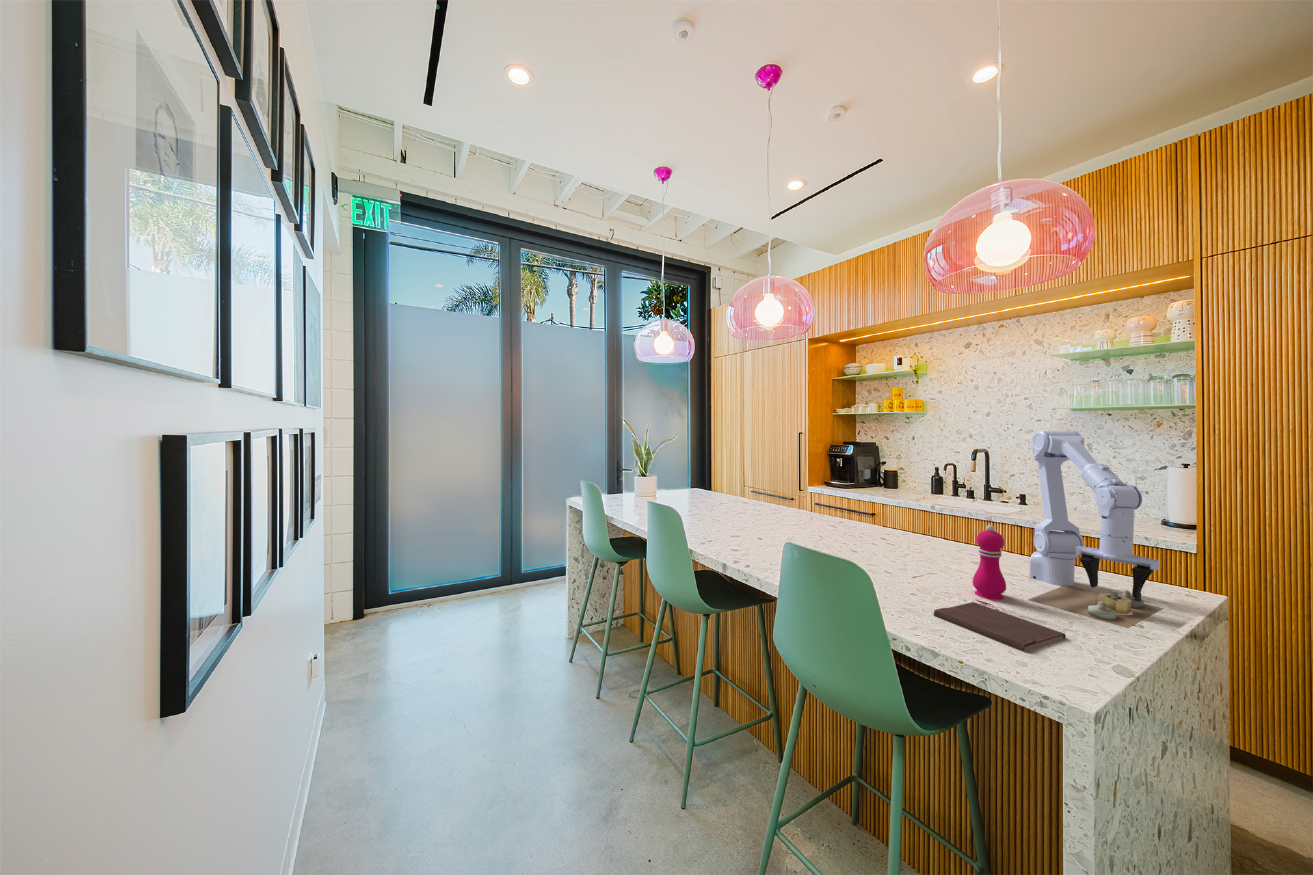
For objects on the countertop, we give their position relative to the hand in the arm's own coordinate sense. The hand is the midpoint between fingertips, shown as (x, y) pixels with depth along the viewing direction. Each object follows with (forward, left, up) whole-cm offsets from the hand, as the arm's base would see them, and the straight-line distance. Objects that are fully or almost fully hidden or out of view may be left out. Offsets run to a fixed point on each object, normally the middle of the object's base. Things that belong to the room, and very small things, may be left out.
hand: (1114, 591), depth 115 cm
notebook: (-11, -31, -7) cm, 33 cm away
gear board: (-4, 0, -6) cm, 7 cm away
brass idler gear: (0, 0, -4) cm, 4 cm away
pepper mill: (-20, -16, -6) cm, 26 cm away
